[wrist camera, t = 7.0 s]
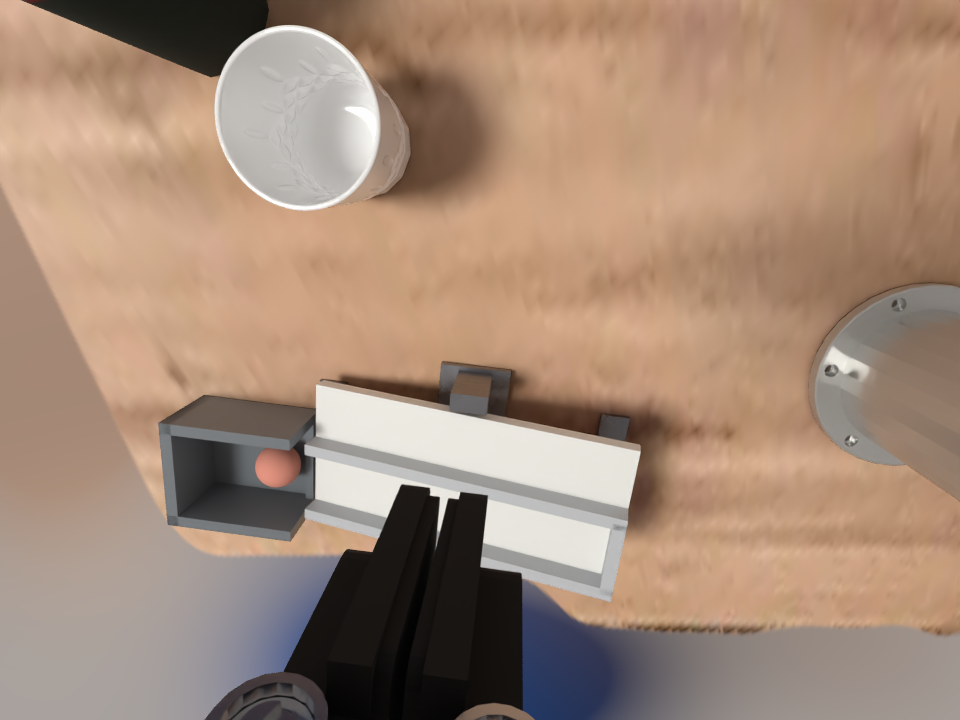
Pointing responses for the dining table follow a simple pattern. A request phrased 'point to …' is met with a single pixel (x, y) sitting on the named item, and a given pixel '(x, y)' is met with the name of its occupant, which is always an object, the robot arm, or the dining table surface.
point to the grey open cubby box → (235, 467)
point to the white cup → (308, 121)
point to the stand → (496, 395)
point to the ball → (277, 466)
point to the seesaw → (478, 481)
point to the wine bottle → (171, 26)
